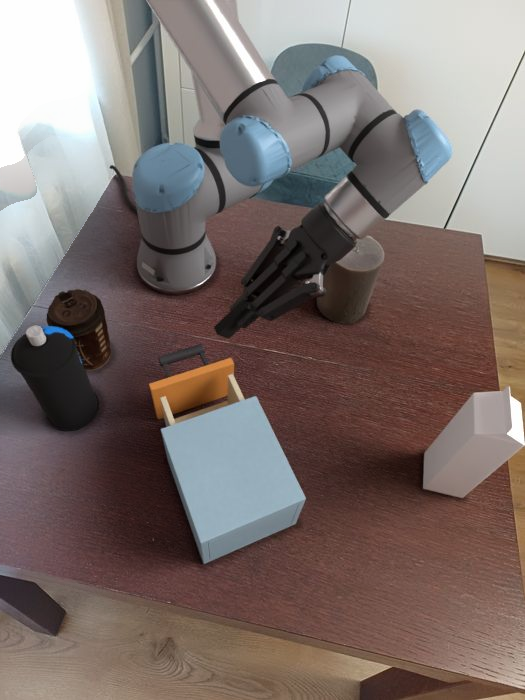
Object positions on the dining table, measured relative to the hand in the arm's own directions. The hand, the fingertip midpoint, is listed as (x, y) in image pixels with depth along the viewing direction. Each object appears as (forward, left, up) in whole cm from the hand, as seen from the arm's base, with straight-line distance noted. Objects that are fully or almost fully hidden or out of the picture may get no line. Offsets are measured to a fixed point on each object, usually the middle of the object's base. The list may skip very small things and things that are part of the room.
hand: (221, 332), depth 74 cm
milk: (+29, +25, -12) cm, 40 cm away
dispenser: (+19, -6, -12) cm, 23 cm away
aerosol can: (-3, -24, -12) cm, 27 cm away
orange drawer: (+8, -6, -11) cm, 15 cm away
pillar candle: (-7, +27, -12) cm, 30 cm away
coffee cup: (-12, -19, -12) cm, 25 cm away
